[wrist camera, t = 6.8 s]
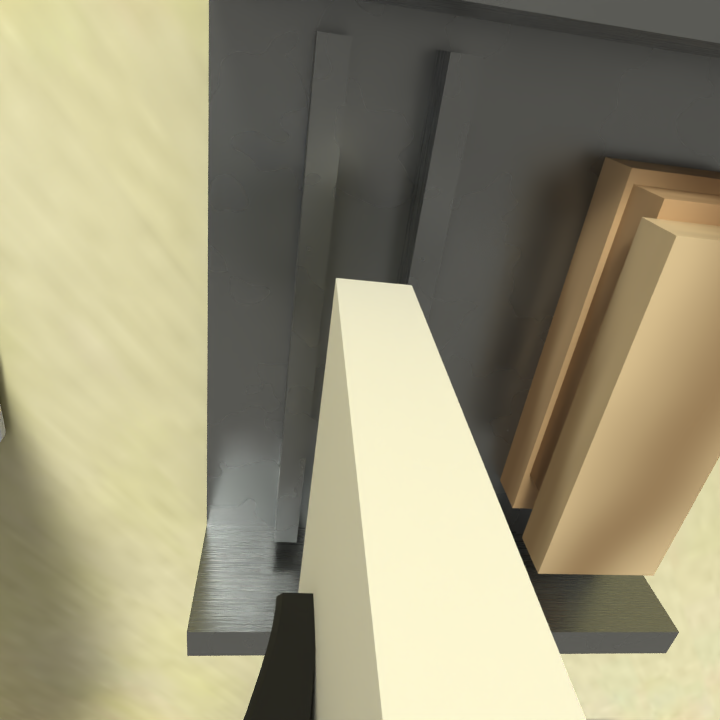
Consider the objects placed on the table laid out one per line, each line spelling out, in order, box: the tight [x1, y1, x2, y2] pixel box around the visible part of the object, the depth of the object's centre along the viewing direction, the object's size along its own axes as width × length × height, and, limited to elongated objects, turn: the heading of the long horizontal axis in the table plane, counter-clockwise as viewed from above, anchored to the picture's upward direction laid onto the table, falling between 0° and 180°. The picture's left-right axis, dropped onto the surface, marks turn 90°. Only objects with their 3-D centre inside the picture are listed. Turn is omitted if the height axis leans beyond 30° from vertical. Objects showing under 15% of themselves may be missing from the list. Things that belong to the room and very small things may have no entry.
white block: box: [298, 278, 586, 720], centre depth 10 cm, size 2×12×8 cm, turn 173°
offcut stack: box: [500, 157, 720, 576], centre depth 18 cm, size 4×12×4 cm, turn 173°
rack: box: [187, 0, 720, 656], centre depth 17 cm, size 17×20×6 cm
